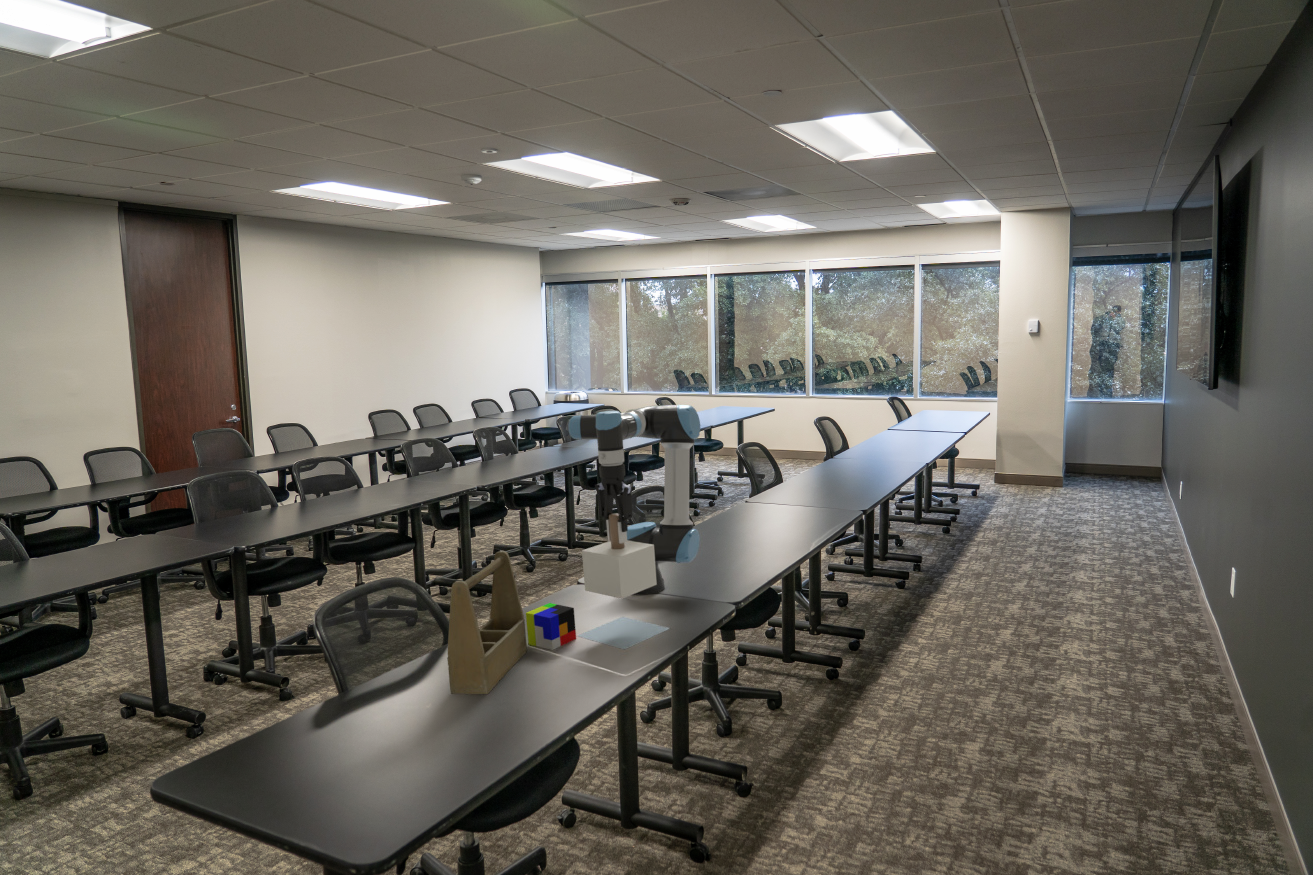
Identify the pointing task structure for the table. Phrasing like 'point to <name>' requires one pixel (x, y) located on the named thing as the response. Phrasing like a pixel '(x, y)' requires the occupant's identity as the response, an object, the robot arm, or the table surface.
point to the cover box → (619, 565)
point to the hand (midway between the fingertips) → (617, 541)
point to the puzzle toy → (551, 626)
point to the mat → (623, 632)
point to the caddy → (485, 631)
